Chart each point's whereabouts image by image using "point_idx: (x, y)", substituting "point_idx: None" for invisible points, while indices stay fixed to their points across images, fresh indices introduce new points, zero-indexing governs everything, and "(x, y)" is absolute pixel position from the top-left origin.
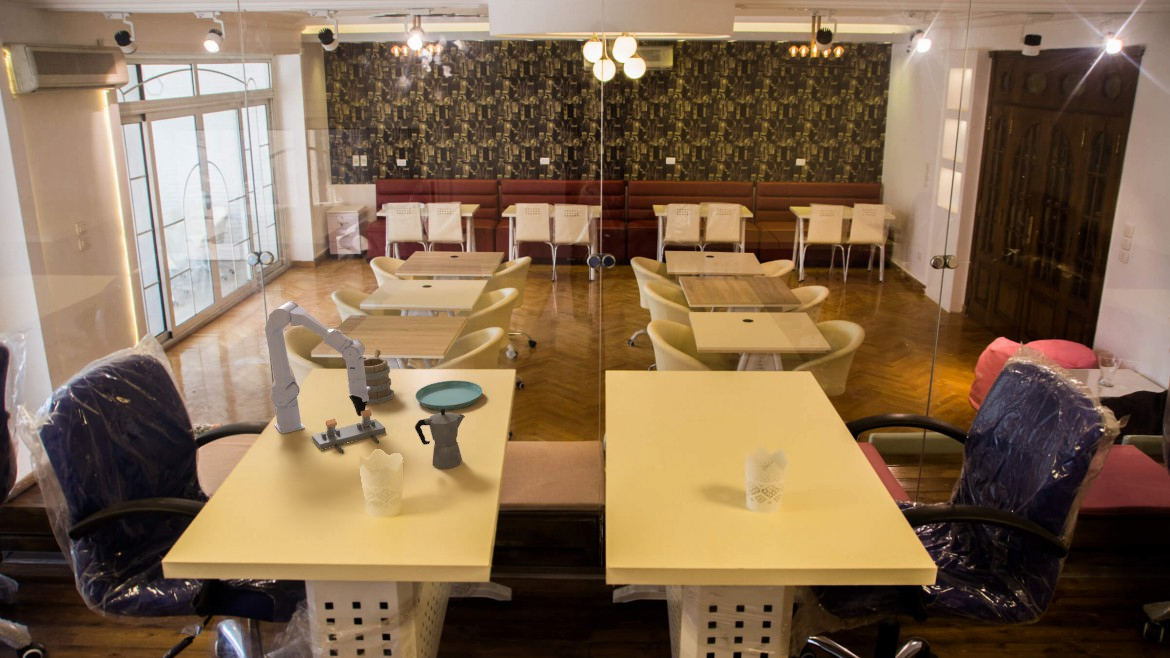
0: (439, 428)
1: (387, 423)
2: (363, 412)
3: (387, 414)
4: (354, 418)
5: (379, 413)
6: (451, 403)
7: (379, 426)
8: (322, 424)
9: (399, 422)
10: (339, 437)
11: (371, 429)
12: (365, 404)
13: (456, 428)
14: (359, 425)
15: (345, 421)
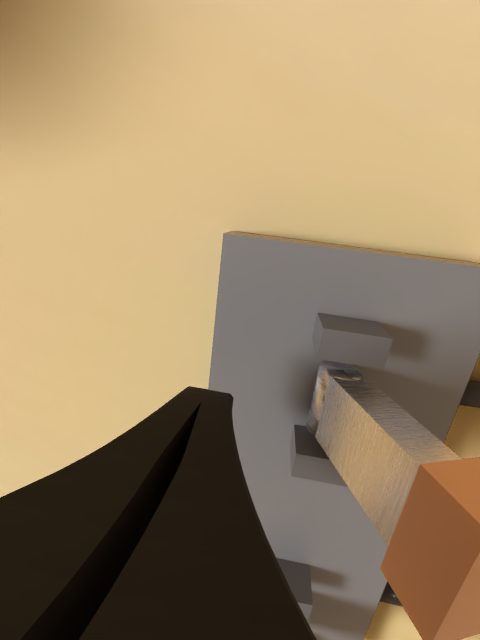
0: None
1: (282, 132)
2: (473, 619)
3: (69, 10)
4: (8, 297)
5: (4, 72)
6: None
7: (429, 299)
8: (4, 473)
9: (357, 3)
10: (349, 587)
11: (424, 386)
12: (255, 522)
13: None
14: None
15: (29, 366)
